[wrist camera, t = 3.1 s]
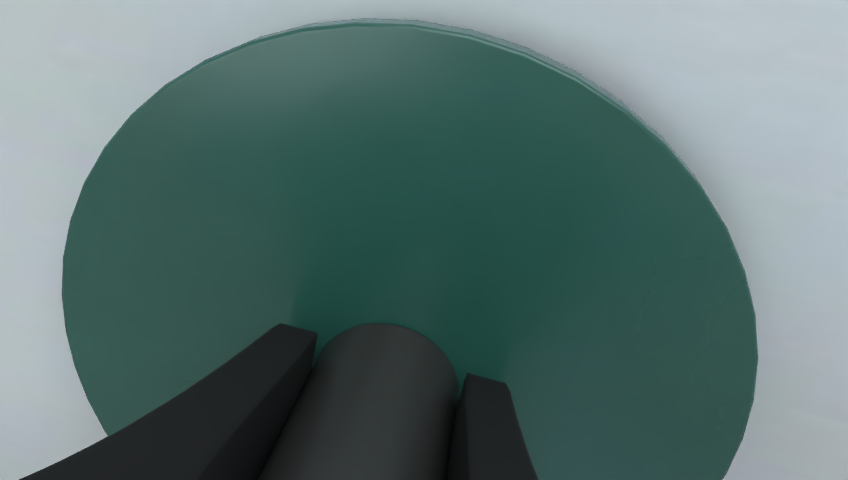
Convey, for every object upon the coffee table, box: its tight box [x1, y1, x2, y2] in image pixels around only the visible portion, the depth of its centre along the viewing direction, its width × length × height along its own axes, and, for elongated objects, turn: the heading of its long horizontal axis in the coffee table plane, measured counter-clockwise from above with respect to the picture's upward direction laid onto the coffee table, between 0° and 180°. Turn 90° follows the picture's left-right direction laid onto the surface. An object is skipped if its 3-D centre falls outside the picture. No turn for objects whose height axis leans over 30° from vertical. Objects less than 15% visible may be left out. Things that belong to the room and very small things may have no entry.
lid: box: [62, 18, 758, 480], centre depth 10 cm, size 11×11×5 cm
